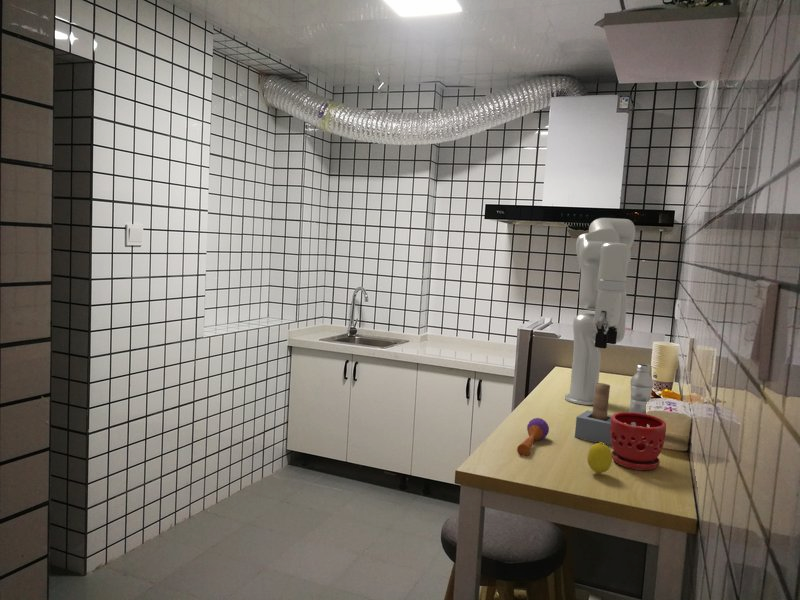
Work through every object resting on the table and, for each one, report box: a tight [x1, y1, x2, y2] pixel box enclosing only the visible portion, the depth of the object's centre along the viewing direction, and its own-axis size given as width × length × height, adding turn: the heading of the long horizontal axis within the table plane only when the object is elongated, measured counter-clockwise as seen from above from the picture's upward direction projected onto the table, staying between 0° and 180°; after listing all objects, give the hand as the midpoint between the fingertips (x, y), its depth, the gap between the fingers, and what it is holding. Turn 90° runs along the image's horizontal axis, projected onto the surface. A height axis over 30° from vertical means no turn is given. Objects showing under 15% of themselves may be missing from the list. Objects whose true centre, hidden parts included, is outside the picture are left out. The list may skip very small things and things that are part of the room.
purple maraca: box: [516, 417, 550, 457], centre depth 165 cm, size 6×6×20 cm
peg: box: [592, 382, 611, 421], centre depth 175 cm, size 4×4×14 cm
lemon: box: [587, 442, 613, 475], centre depth 146 cm, size 6×6×8 cm
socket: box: [574, 409, 613, 446], centre depth 176 cm, size 10×10×6 cm
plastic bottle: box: [628, 363, 654, 427], centre depth 186 cm, size 6×7×20 cm
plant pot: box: [610, 411, 667, 471], centre depth 154 cm, size 13×13×12 cm
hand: (605, 345), depth 175 cm, fingers open, 9 cm apart
